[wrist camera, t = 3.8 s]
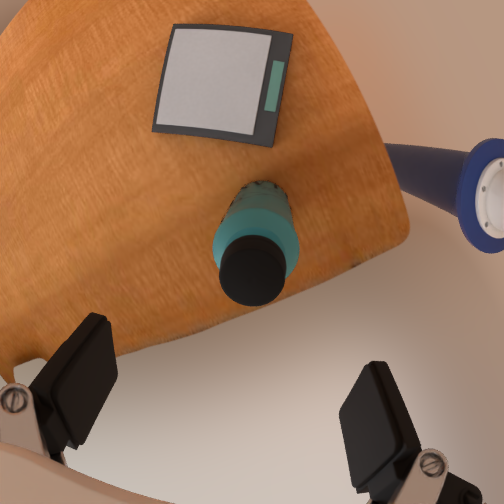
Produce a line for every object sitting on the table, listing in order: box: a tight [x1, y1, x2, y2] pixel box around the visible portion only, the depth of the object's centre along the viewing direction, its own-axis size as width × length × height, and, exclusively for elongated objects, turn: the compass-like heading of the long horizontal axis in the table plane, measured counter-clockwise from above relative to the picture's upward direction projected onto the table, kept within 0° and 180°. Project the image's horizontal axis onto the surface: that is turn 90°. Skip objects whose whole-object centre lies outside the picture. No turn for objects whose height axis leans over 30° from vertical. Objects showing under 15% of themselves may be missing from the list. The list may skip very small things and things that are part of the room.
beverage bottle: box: [213, 180, 299, 306], centre depth 26 cm, size 6×7×20 cm
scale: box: [152, 24, 293, 148], centre depth 29 cm, size 14×14×3 cm
